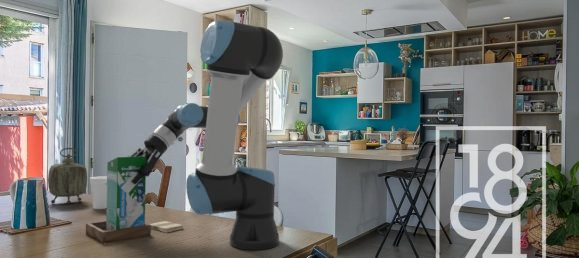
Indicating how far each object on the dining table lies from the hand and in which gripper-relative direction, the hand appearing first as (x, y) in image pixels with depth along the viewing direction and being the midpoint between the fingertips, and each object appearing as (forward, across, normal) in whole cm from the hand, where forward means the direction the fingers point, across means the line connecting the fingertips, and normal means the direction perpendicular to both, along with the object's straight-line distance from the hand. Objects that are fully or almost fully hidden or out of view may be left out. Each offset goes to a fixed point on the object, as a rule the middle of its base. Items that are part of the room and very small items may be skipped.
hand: (115, 188), depth 130 cm
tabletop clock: (+7, +67, -15) cm, 69 cm away
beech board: (-1, -2, -22) cm, 23 cm away
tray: (+10, 0, -12) cm, 15 cm away
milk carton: (+8, -2, -12) cm, 15 cm away
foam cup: (+2, +48, -20) cm, 52 cm away
